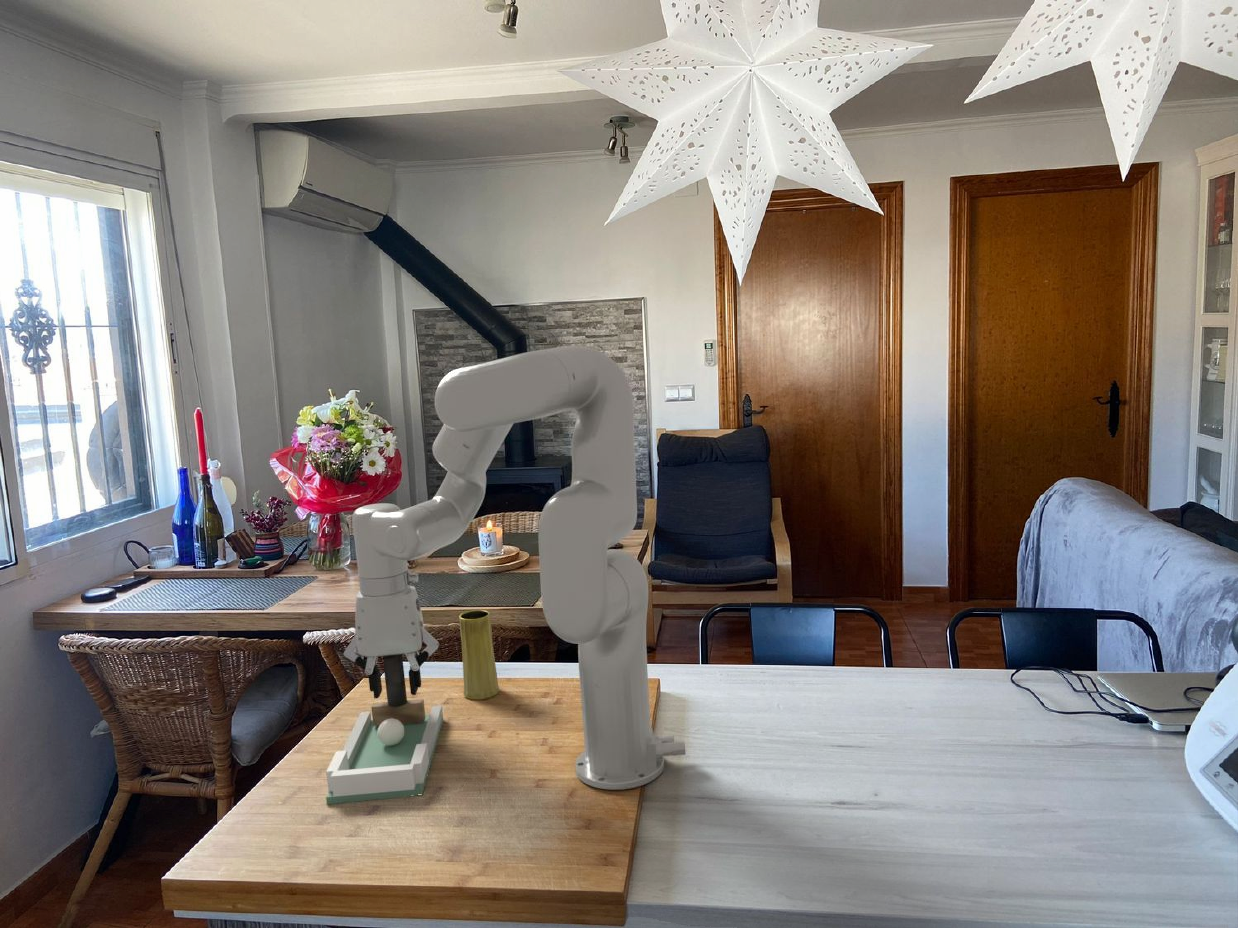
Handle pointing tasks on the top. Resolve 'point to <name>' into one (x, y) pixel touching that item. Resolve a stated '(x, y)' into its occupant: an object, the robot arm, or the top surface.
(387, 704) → the striker
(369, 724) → the pitch
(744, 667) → the top surface
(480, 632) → the vase
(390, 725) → the ball
